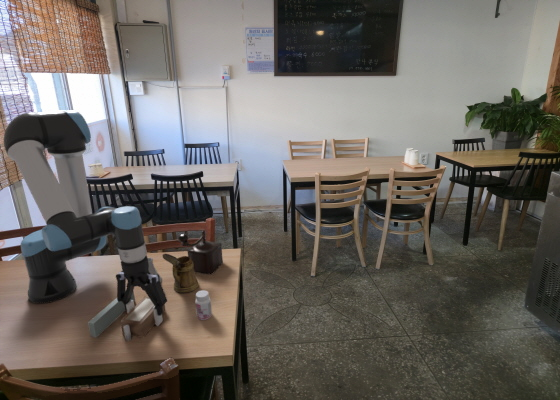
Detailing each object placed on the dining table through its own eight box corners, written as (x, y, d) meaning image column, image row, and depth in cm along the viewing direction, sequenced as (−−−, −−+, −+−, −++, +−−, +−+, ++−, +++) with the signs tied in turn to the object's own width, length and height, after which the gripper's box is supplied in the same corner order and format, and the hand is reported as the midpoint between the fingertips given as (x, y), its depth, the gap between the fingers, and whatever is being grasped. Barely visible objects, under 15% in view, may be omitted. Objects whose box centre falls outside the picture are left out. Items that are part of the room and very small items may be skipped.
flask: (165, 278, 138) (161, 255, 134) (157, 288, 131) (153, 264, 128) (147, 277, 138) (143, 254, 135) (138, 287, 132) (134, 264, 128)
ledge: (91, 336, 106) (87, 322, 105) (130, 300, 124) (128, 288, 122) (127, 342, 103) (125, 328, 102) (162, 304, 121) (160, 292, 119)
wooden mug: (160, 297, 125) (154, 252, 119) (183, 278, 137) (178, 236, 131) (182, 302, 122) (175, 255, 116) (203, 282, 134) (198, 239, 128)
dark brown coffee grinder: (200, 259, 152) (196, 220, 146) (223, 262, 148) (220, 223, 143) (180, 277, 138) (175, 235, 132) (205, 281, 134) (201, 238, 129)
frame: (122, 335, 107) (120, 320, 105) (147, 309, 119) (144, 296, 117) (143, 338, 105) (140, 323, 104) (165, 311, 117) (163, 298, 116)
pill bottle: (195, 320, 112) (192, 297, 110) (199, 311, 117) (196, 289, 114) (209, 320, 112) (207, 298, 109) (213, 311, 117) (211, 289, 114)
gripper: (94, 261, 104) (109, 325, 111) (159, 266, 99) (170, 333, 106) (111, 250, 111) (124, 310, 118) (172, 254, 106) (182, 317, 113)
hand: (146, 321), depth 112 cm, fingers open, 9 cm apart
